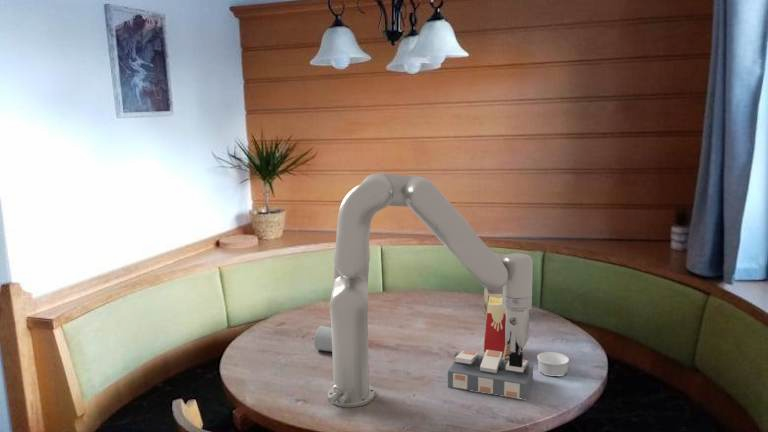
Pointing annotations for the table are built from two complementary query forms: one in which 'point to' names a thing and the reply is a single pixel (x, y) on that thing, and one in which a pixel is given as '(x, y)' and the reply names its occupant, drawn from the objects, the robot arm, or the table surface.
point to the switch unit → (490, 378)
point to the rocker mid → (491, 361)
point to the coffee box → (486, 296)
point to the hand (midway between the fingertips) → (515, 366)
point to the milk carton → (496, 326)
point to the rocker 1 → (466, 357)
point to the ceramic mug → (323, 339)
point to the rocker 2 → (518, 369)
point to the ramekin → (552, 363)
